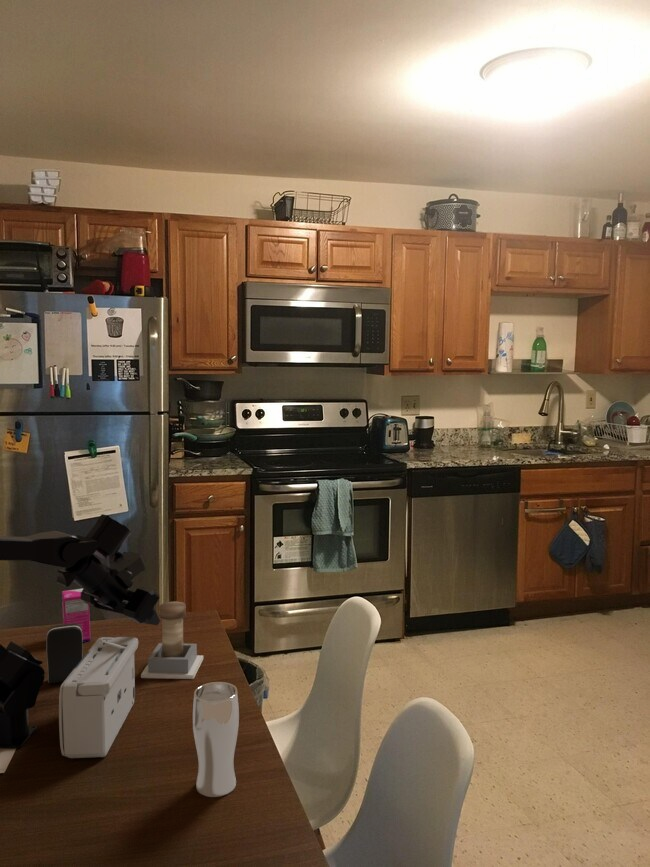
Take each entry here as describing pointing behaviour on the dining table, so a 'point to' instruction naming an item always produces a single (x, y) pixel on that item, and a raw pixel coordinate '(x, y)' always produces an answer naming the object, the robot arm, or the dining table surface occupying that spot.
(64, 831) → the dining table surface
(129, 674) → the stereo radio cassette player
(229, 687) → the beer glass
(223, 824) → the dining table surface
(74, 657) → the battery charger
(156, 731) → the dining table surface
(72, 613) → the supplement box
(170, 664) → the plate
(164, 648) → the maple knob
